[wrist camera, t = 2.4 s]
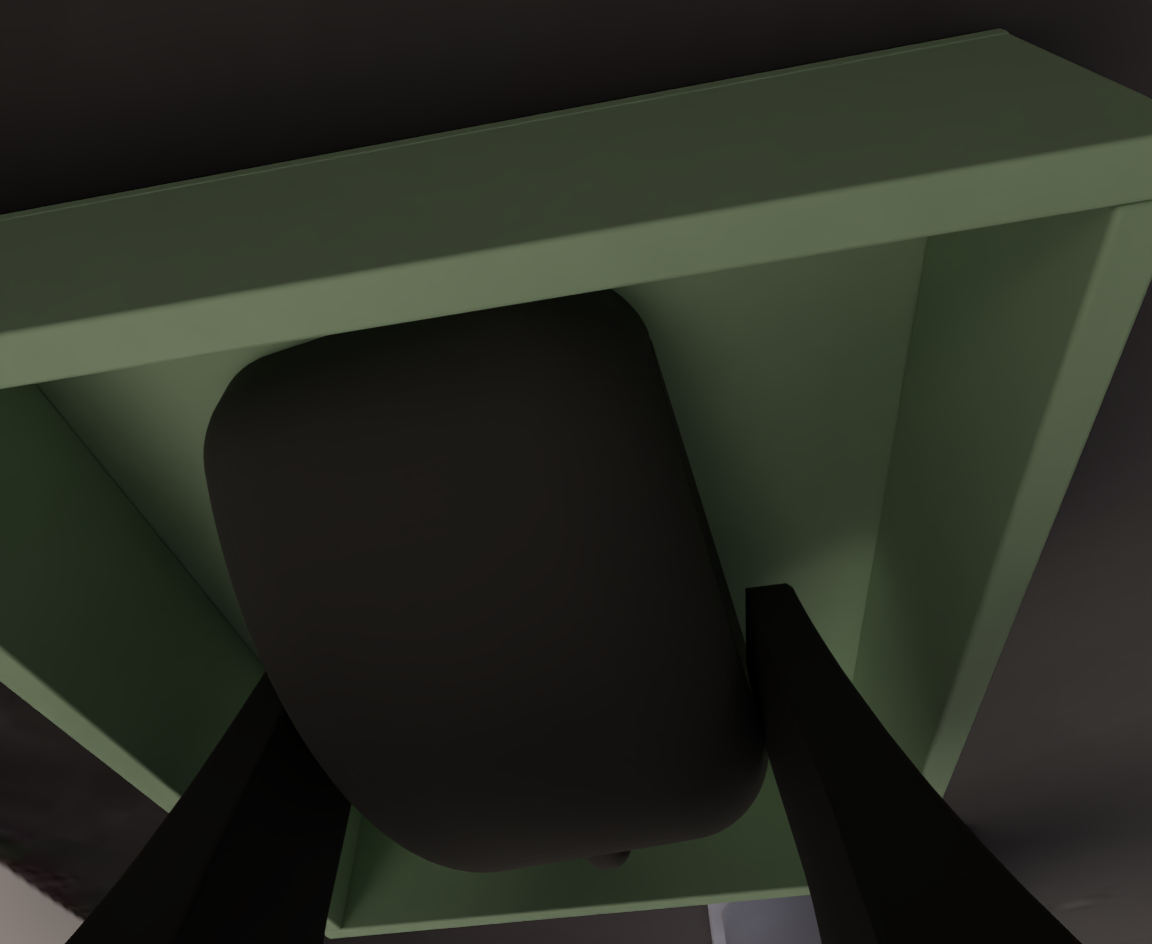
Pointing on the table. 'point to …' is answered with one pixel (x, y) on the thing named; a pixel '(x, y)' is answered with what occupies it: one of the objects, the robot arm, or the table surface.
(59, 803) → the table surface
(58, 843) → the table surface
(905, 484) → the storage box
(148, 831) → the table surface
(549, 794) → the computer mouse
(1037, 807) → the table surface
